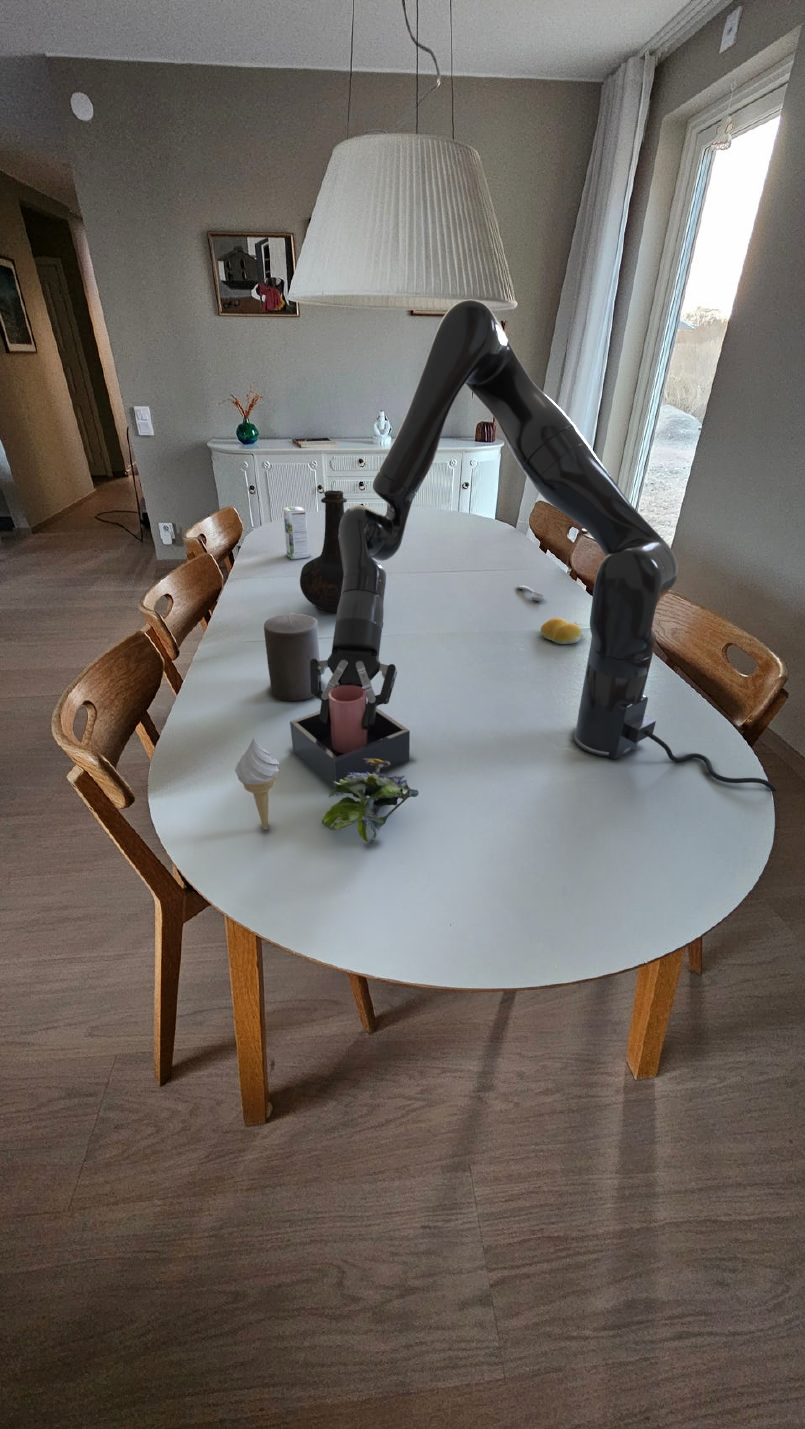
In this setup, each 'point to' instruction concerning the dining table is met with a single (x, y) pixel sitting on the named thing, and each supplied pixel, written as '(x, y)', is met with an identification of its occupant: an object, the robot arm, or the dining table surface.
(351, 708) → the cup
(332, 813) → the passion flower
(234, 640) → the dining table surface
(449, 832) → the dining table surface
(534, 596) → the spoon
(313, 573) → the glass bottle
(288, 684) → the pillar candle
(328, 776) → the dark grey open box
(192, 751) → the dining table surface
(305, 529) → the syrup box
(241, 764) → the ice cream cone
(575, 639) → the bread roll
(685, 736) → the dining table surface
